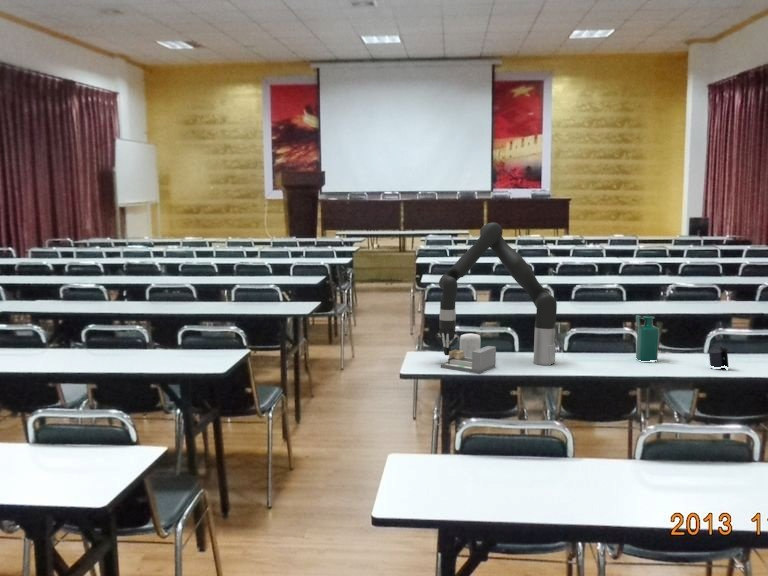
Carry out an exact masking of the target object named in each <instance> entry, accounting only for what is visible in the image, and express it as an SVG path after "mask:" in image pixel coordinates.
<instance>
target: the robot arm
mask: <svg viewBox="0 0 768 576" xmlns="http://www.w3.org/2000/svg"><path fill="white" fill-rule="evenodd" d="M503 233H504V232H503V228H502V226H501V225H500V224H499V223H497V222H489V223H486V224H484V225H482V227H481V228H480V232H479V234H480V235H479V237H478V239H477V240H476V242H474V244H473V245H471V247H469V248H468V250H467V251H465V252H464V253H463V254H462V255H461V256H460V258H459V259H458V260H457V261H456V262H455V264H454V265H453V266H452V267H451V268H450V269H448V270H447V271H446V272H445V273H444V274H443V275H442V276H441V277H440V279H439V280H438V286H439V288H440V289H441V290H442V296H441V297H440V302H439V304H440V305H439V306H440V307H439V322H438V323H439V330H438V333H436V334H435V335H434V337H435V339H436V341H437V343H438V344H439V346H441V347H443V354H444V356H447V357H449V351H452V350H451V348H452V347H455V345H456V344H457V343H458V341H460V336H461V335H460V336H459V335H458V334H457V332H456V320H457V318H456V317H457V316H456V315H457V314H456V299H457V294H458V281H459V279H462V278H463V277H465V276H466V275H467V274H468V273H469V271H470V270H471V269H472V268H473V267H474V265H476V264H477V261H479V259H480V258H481V257H482V256H483V255H484V254H485V252H486V251H487V250H488V249H490V250H492V251H493V252H494V253H495V255H496V256H497V258H498V260H499V262H501V264H502V265H503V266H504V268H505V269H506V270H507V272H508V273H509V274H510V276H511V277H512V278H513V280H514V281H515V282H516V283H517V284H518V285H519V286H520V288H522V289H523V290H524V291H525V292H526V293H527V294H528V296H529V298H530V300H531V301H532V302H533V304H534V306H535V308H536V313H535V314H536V315H535V316H536V317H535V321H534V340H533V341H534V342H533V344H534V345H533V363H534V364H536V365H541V366H552V365H554V364H555V363H556V345H557V343H555V336H556V335H555V329H556V323H557V322H556V321H557V312H558V311H557V307H558V306H557V305H558V304H557V300H556V298H555V297H554V296H553V295H551V294H550V293H549V292H548V291H547V290H546V289H545V288H544V287H543V286H542V285H541V283H540V282H539V281H538V278H537V277H536V275H535V274H534V272H533V270H532V268H531V266H529V264H528V263H527V262H526V259H525V258H523V256H522V255H520V253H518V252H517V251H516V250H515V249H514V248H512V246H511V245H509V244H508V243H507V242H506V240H505V239H504V237H503ZM554 362H555V363H554ZM553 363H554V364H553ZM551 364H552V365H551Z"/></svg>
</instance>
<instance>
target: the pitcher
mask: <svg viewBox="0 0 768 576" xmlns="http://www.w3.org/2000/svg"><path fill="white" fill-rule="evenodd" d="M641 319H642V320H644V323H643V324H641ZM654 319H655V316H650V315H643V316H641V315H638V314H636V315H635V324H636V326H637V335H636V352H635V359H636V358H637V359H638V360H641V361H650V360H657V361H658V356H659V355H658V354H659V353H658V351H659V335H660V330H659V329H660V328H659V327H657V326H655V325H654V324H653V321H654ZM637 359H636V360H637ZM638 360H637V361H638Z"/></svg>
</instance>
